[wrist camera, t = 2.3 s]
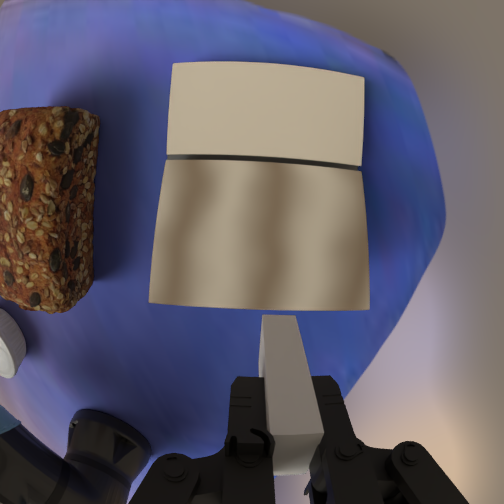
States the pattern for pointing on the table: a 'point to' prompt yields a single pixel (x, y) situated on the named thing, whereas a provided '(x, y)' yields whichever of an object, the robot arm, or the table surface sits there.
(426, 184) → the table surface
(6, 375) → the ramekin
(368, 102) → the table surface
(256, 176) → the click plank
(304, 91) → the floor base
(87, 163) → the bread
